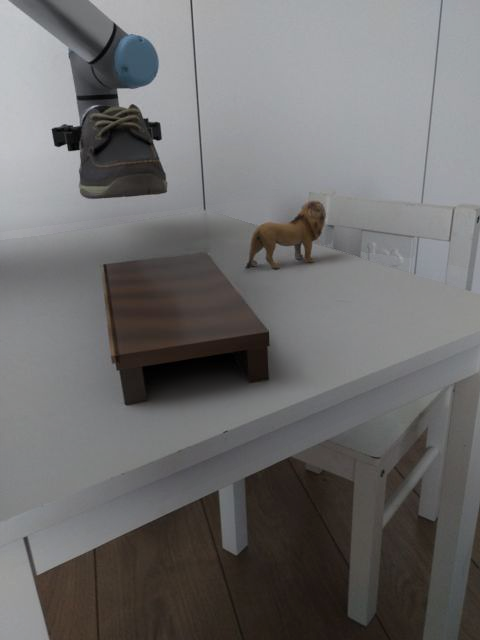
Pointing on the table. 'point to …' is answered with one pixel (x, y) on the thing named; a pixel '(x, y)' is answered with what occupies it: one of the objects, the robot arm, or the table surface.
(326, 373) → the table surface
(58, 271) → the table surface
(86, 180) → the boat shoe
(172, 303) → the shoe shelf
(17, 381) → the table surface
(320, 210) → the lion figurine
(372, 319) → the table surface
